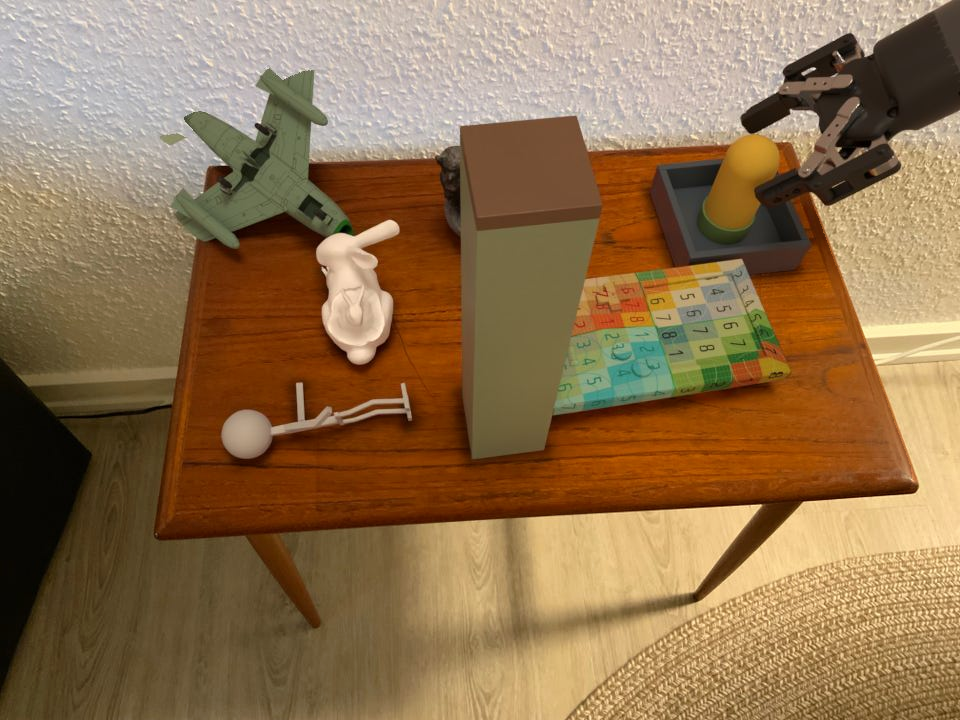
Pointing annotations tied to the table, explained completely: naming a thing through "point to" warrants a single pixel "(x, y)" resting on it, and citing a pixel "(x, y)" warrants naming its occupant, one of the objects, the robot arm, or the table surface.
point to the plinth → (521, 273)
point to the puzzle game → (667, 337)
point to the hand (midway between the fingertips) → (751, 161)
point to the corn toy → (738, 189)
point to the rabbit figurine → (356, 292)
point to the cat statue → (451, 185)
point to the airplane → (261, 168)
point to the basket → (763, 250)
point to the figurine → (292, 424)
